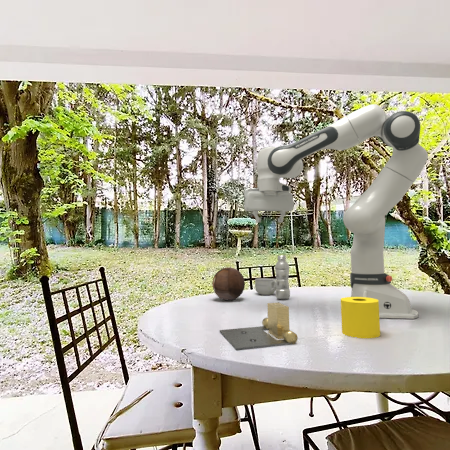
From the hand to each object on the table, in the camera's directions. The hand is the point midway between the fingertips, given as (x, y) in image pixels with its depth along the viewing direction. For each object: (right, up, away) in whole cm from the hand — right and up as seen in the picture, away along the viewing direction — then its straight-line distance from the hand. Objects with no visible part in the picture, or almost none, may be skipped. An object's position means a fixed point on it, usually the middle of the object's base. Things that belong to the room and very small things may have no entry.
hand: (269, 222), depth 133 cm
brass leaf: (-3, -32, -39) cm, 51 cm away
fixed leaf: (-9, -32, -41) cm, 53 cm away
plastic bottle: (+9, -35, +19) cm, 41 cm away
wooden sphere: (-16, -36, +21) cm, 44 cm away
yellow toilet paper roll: (+21, -32, -39) cm, 54 cm away
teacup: (+4, -36, +34) cm, 49 cm away
